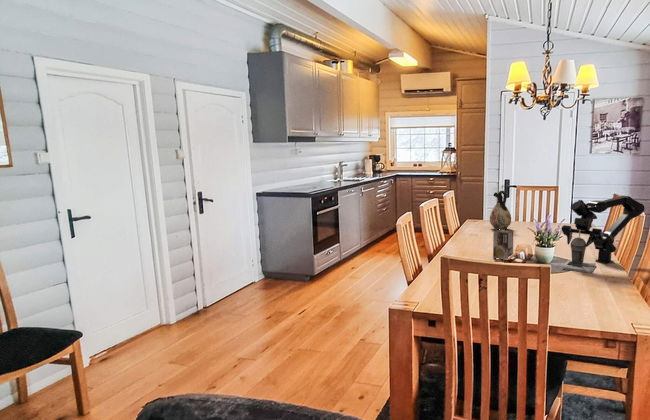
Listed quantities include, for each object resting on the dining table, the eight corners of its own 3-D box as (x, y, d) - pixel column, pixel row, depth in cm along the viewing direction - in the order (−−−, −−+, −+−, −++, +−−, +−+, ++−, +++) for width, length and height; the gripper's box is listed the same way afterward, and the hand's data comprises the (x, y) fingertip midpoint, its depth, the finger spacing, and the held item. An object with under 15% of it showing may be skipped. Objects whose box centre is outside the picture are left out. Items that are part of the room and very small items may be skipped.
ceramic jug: (485, 228, 344) (485, 189, 340) (501, 226, 349) (502, 188, 344) (499, 232, 328) (500, 191, 324) (517, 230, 333) (518, 190, 328)
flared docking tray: (595, 266, 234) (596, 263, 233) (590, 273, 222) (590, 269, 222) (568, 263, 242) (568, 259, 241) (562, 269, 230) (562, 266, 230)
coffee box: (513, 259, 253) (514, 231, 251) (507, 261, 249) (508, 233, 247) (498, 256, 260) (498, 229, 258) (492, 258, 256) (493, 231, 254)
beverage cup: (583, 265, 235) (585, 228, 232) (587, 269, 228) (589, 230, 225) (567, 264, 237) (569, 227, 234) (571, 268, 230) (573, 230, 227)
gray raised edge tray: (596, 266, 233) (596, 266, 233) (591, 273, 222) (591, 272, 222) (568, 263, 241) (568, 262, 241) (562, 269, 231) (562, 268, 231)
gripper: (563, 210, 238) (553, 233, 232) (602, 213, 224) (593, 238, 218) (568, 222, 244) (559, 245, 239) (607, 226, 230) (598, 251, 225)
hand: (577, 245), depth 230 cm, fingers open, 8 cm apart
